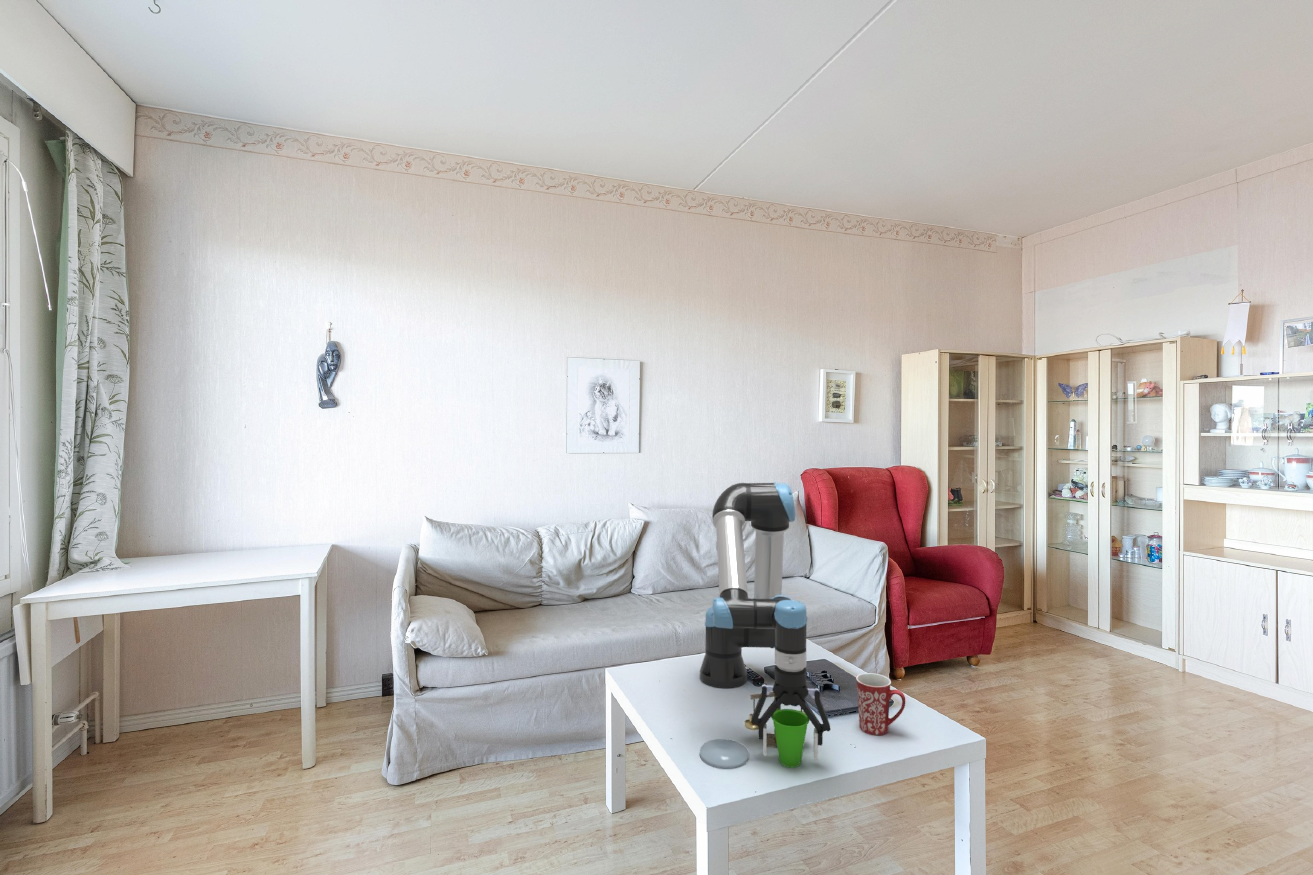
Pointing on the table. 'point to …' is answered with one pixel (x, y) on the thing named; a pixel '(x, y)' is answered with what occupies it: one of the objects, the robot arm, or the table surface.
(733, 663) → the robot arm
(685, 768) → the table surface
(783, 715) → the cup
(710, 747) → the dish
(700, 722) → the table surface
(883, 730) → the mug
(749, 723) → the balance
